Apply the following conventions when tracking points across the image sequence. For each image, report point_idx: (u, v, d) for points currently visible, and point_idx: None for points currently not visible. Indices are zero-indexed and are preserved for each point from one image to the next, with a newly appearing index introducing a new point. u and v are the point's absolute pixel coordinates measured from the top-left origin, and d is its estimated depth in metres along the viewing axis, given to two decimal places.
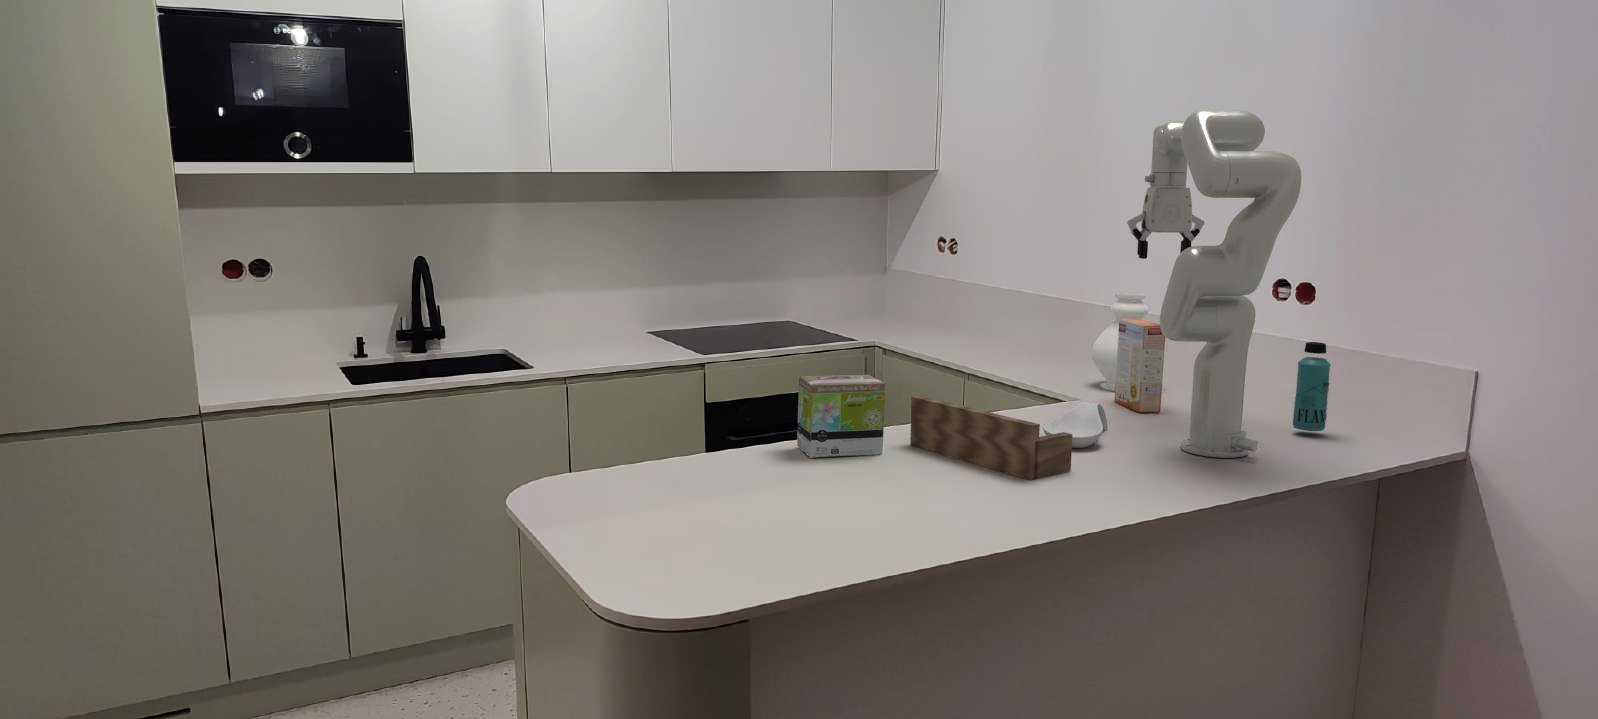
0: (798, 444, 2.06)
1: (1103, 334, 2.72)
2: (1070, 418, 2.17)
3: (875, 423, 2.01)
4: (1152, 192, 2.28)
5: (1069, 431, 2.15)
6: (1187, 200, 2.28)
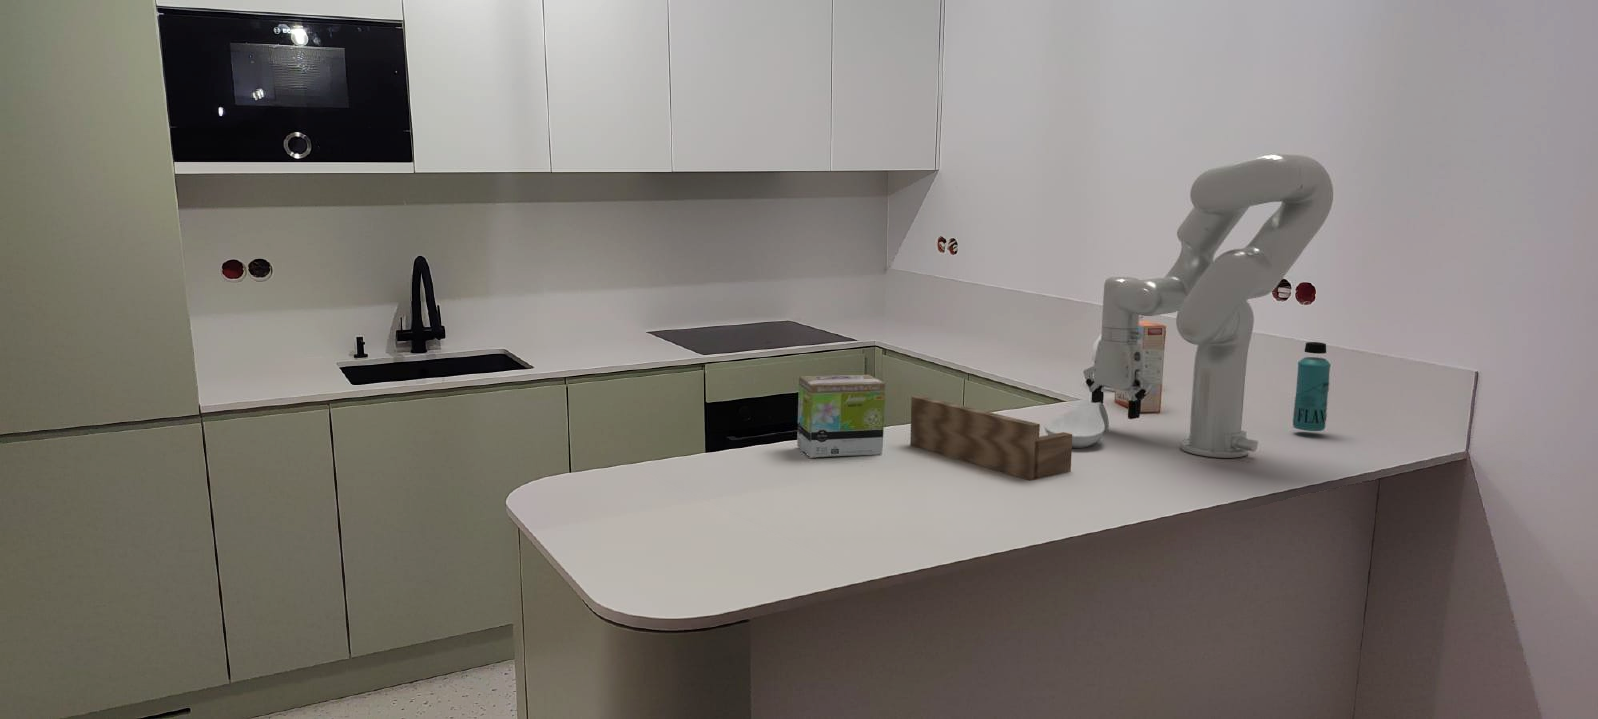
0: (798, 444, 2.06)
1: None
2: (1072, 417, 2.17)
3: (875, 423, 2.01)
4: (1141, 348, 2.18)
5: (1071, 430, 2.15)
6: None
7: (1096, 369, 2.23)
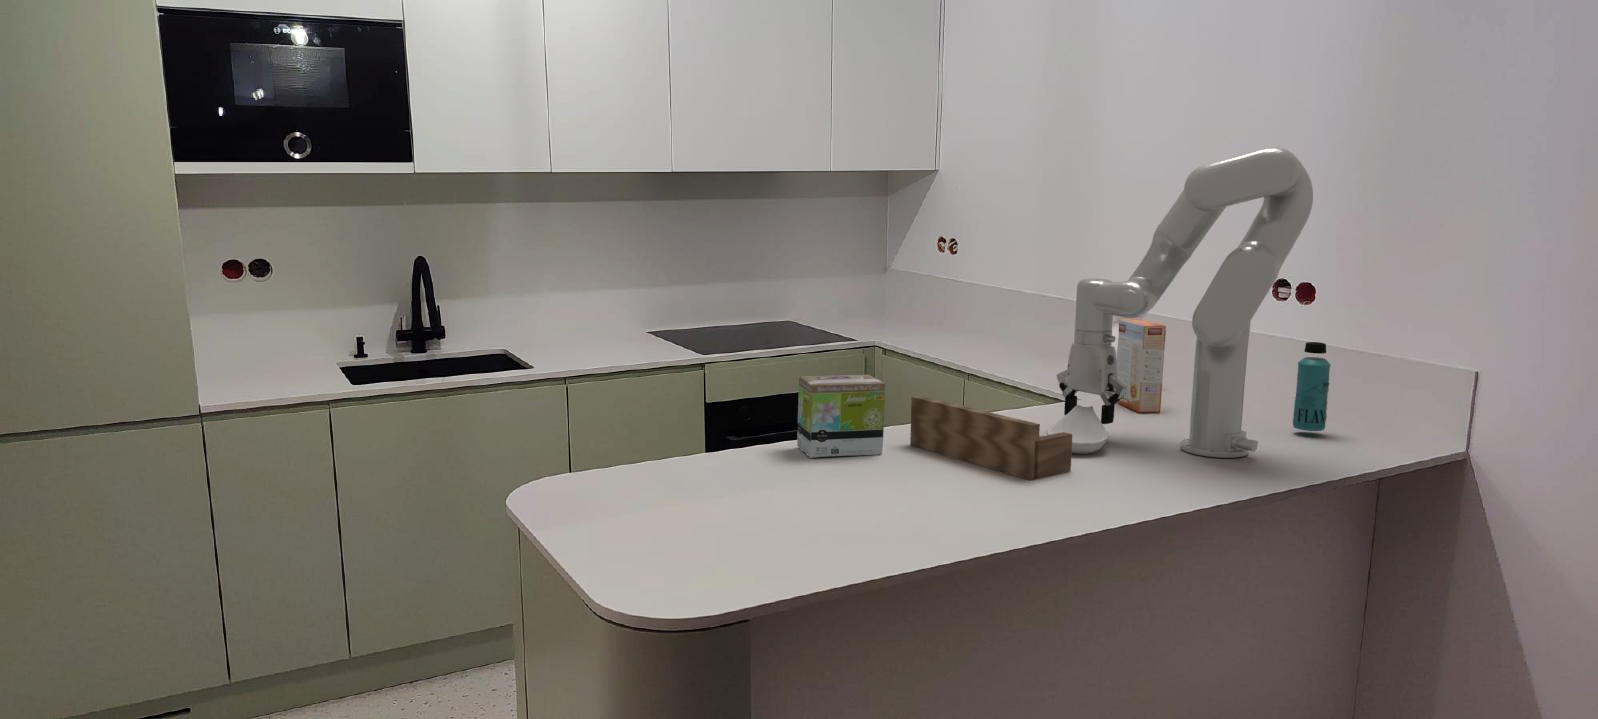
0: (798, 444, 2.06)
1: None
2: (1069, 423, 2.12)
3: (875, 423, 2.01)
4: (1115, 352, 2.13)
5: None
6: None
7: (1069, 373, 2.18)
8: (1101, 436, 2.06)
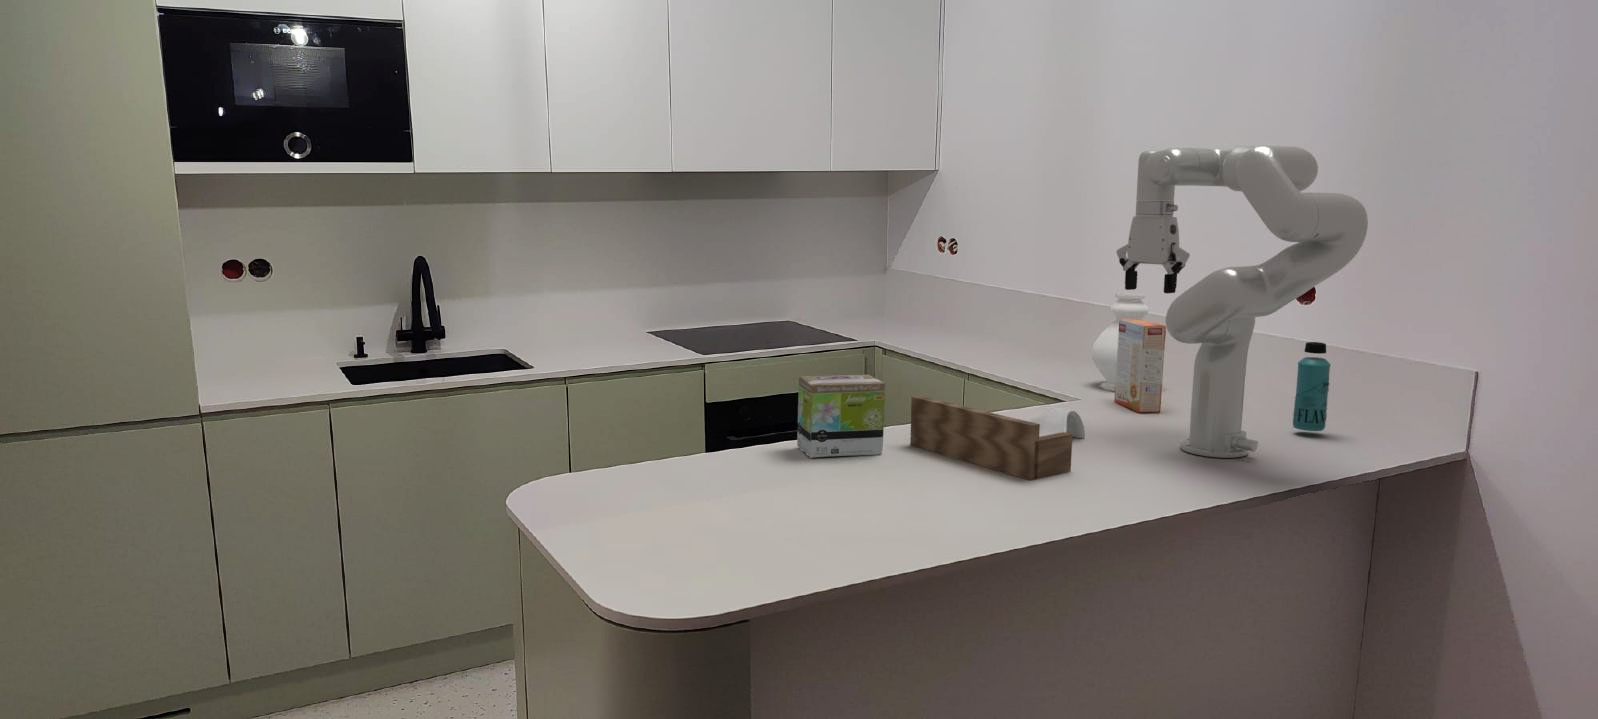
0: (798, 444, 2.06)
1: (1103, 334, 2.72)
2: None
3: (875, 423, 2.01)
4: (1177, 222, 2.16)
5: None
6: None
7: (1130, 246, 2.21)
8: None
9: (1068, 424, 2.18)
